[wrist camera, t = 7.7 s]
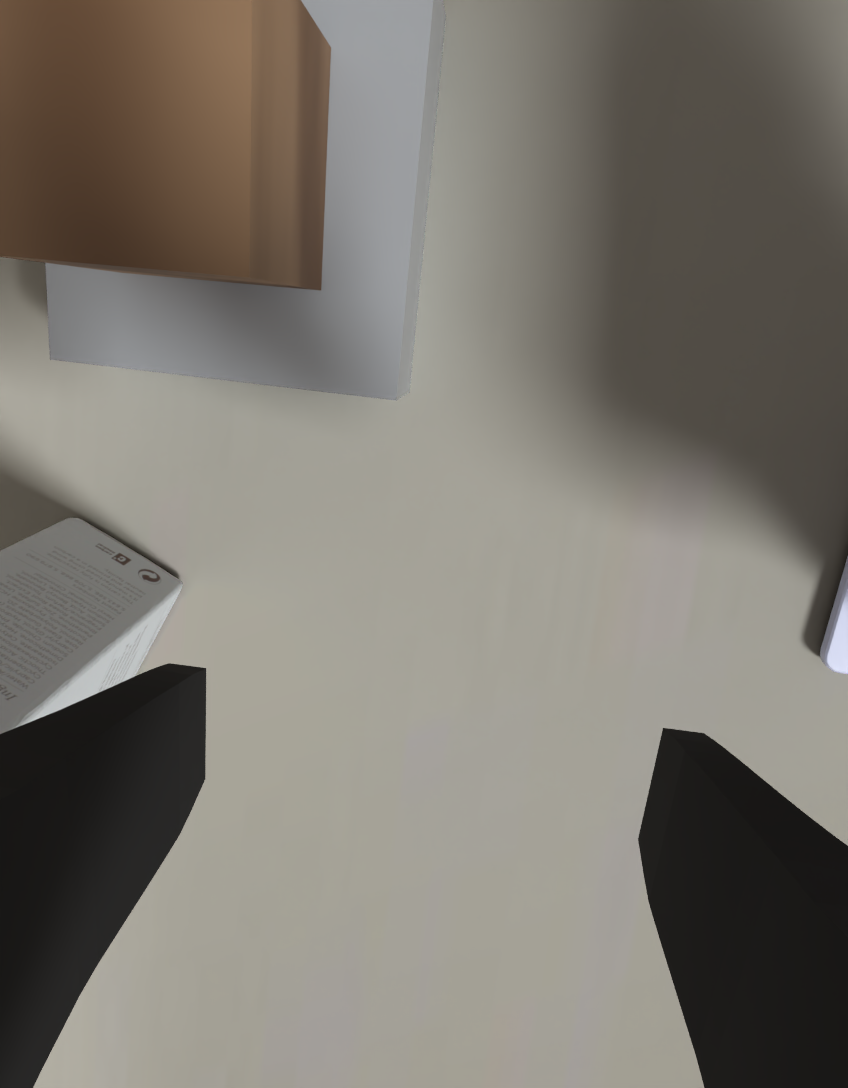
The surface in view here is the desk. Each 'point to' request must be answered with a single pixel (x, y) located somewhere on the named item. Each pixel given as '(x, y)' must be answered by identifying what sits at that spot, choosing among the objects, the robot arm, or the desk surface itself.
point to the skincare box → (74, 618)
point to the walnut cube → (165, 138)
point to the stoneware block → (348, 244)
